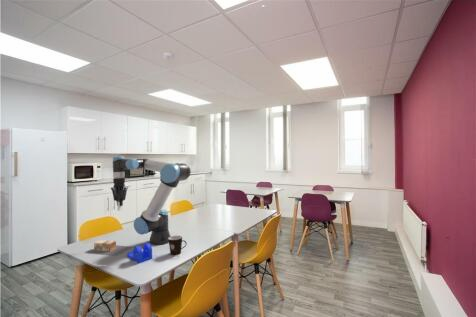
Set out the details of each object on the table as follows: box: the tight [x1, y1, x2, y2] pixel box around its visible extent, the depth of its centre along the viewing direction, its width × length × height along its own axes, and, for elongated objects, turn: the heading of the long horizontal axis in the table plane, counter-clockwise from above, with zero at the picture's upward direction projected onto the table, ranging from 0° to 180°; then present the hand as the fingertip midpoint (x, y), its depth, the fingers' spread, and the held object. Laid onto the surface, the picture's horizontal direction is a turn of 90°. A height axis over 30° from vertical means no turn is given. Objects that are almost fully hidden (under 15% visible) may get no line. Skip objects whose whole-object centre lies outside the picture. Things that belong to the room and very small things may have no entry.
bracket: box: [126, 242, 153, 264], centre depth 146 cm, size 18×8×9 cm, turn 49°
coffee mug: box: [168, 235, 188, 256], centre depth 149 cm, size 12×9×10 cm
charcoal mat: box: [86, 244, 133, 257], centre depth 158 cm, size 24×16×1 cm, turn 76°
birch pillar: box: [93, 239, 117, 251], centre depth 159 cm, size 5×5×13 cm
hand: (119, 210), depth 171 cm, fingers closed
